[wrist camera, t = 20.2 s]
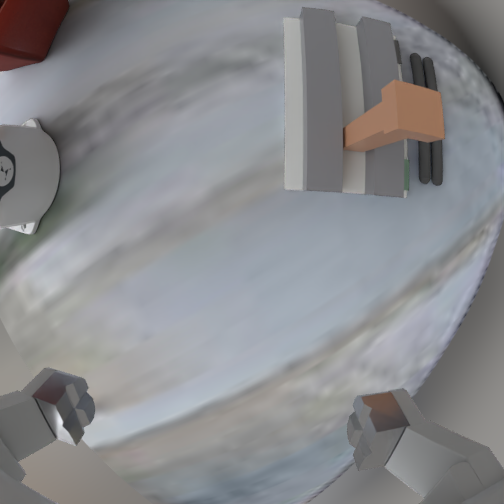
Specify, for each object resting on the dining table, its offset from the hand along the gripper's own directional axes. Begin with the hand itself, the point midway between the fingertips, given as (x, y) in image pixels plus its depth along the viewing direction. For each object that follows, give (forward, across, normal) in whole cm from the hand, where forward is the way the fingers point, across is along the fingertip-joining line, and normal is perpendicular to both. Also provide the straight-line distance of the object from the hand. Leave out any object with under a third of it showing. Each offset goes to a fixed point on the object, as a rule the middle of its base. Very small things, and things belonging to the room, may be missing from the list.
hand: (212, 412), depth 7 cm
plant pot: (+30, +40, -38) cm, 62 cm away
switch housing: (+29, -12, -18) cm, 36 cm away
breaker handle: (+27, -12, -12) cm, 32 cm away
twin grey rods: (+29, -24, -18) cm, 42 cm away
